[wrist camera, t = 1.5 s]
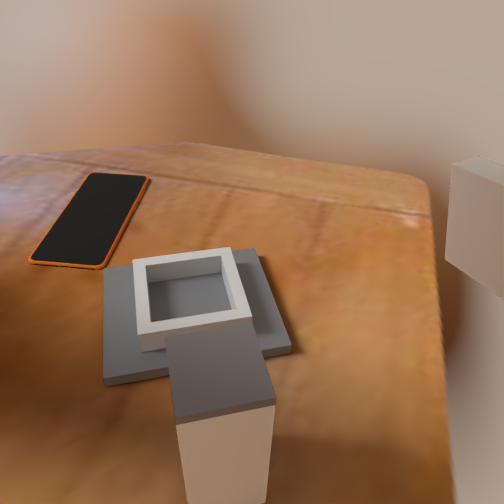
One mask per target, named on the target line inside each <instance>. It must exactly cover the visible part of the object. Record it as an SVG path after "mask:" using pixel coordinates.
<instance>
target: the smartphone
mask: <svg viewBox="0 0 504 504" xmlns="http://www.w3.org/2000/svg"><path fill="white" fill-rule="evenodd" d="M148 182H149V178H148V177H147V176H141V175H127V174H113V173H98V172H92V173H90V174H88V175H87V177H86V178H85V180H84V181H83V182H82V184H81V185H80V187H79V188H78V190H77V191H76V192H75V194H74V195H73V197H72V198H71V199H70V201H69V202H68V204H67V205H66V206H65V208H64V209H63V211H62V212H61V213H60V215H59V216H58V218H57V219H56V220H55V222H54V223H53V225H52V226H51V227H50V229H49V230H48V232H47V233H46V234H45V236H44V237H43V239H42V240H41V241H40V243H39V244H38V246H37V247H36V249H35V250H34V251H33V253H32V254H31V256H30V257H29V259H28V262H29V263H30V264H32V265H44V266H56V267H59V266H65V267H70V268H80V269H92V270H101V269H103V268H105V266H106V265H107V263H108V261H109V259H110V257H111V255H112V253H113V251H114V249H115V247H116V245H117V243H118V241H119V239H120V237H121V235H122V233H123V231H124V229H125V227H126V225H127V223H128V222H129V220H130V218H131V216H132V214H133V213H134V212H135V210H136V208H137V204H138V202H140V200H141V198H142V196H143V194H144V192H145V190H146V186H147V184H148Z"/></svg>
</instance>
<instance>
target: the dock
mask: <svg viewBox="0 0 504 504" xmlns="http://www.w3.org/2000/svg"><path fill="white" fill-rule="evenodd" d="M248 323H253V326H254V329H255V332H256V335H257V339H258V342H259V345H260V348H261V351H262V354H263V358H267V357H273V356H278V355H284V354H289V353H291V348H292V344H291V341H290V339H289V336H288V334H287V331H286V328H285V326H284V323H283V321H282V318H281V315H280V313H279V310H278V308H277V305H276V302H275V300H274V297H273V295H272V292H271V289H270V287H269V284H268V282H267V279H266V276H265V274H264V271H263V268H262V266H261V263H260V261H259V258H258V255H257V253H256V250H255V248H252V249H245V250H237V251H231V248H230V247H225V248H218V249H210V250H203V251H195V252H187V253H180V254H172V255H164V256H157V257H149V258H142V259H134V260H133V264H132V265H124V266H117V267H109V268H104V303H103V380H104V384H105V387H107V386H113V385H118V384H124V383H129V382H135V381H140V380H146V379H151V378H157V377H162V376H168V375H169V368H168V360H167V352H166V343H165V337H170V336H176V335H182V334H188V333H194V332H200V331H206V330H212V329H218V328H224V327H230V326H236V325H242V324H248Z"/></svg>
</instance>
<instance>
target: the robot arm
mask: <svg viewBox="0 0 504 504" xmlns="http://www.w3.org/2000/svg"><path fill="white" fill-rule="evenodd" d="M445 260H447V261H448V262H449V263H451V264H453V265H454V266H455V267H457V268H458V269H460V270H461V271H463V272H464V273H466V274H467V275H469V276H470V277H471V278H473V279H474V280H476V281H477V282H479V283H480V284H481V285H483V286H484V287H486V288H487V289H489V290H490V291H492V292H493V293H495V294H496V295H498V296H499V297H500V298H502V299H503V300H504V165H501V164H499V163H496V162H494V161H491V160H488V159H486V158H483V157H480V156H476V157H473V158H469V159H466V160H463V161H459V162H456V163H453V164H452V170H451V183H450V197H449V210H448V223H447V237H446V250H445Z"/></svg>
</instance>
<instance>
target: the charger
mask: <svg viewBox="0 0 504 504" xmlns="http://www.w3.org/2000/svg"><path fill="white" fill-rule="evenodd" d="M165 343H166V352H167V360H168V368H169V376H170V384H171V392H172V401H173V409H174V417H175V424H176V430H177V437H178V444H179V450H180V457H181V463H182V470H183V477H184V483H185V490H186V497H187V503H188V504H262V503H266V493H267V483H268V473H269V463H270V454H271V444H272V434H273V424H274V414H275V404H276V395H275V392H274V389H273V386H272V383H271V380H270V376H269V373H268V370H267V367H266V364H265V361H264V358H263V354H262V351H261V348H260V345H259V342H258V339H257V335H256V332H255V329H254V326H253V323H248V324H242V325H236V326H230V327H224V328H218V329H212V330H206V331H200V332H194V333H188V334H182V335H176V336H170V337H165Z"/></svg>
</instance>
